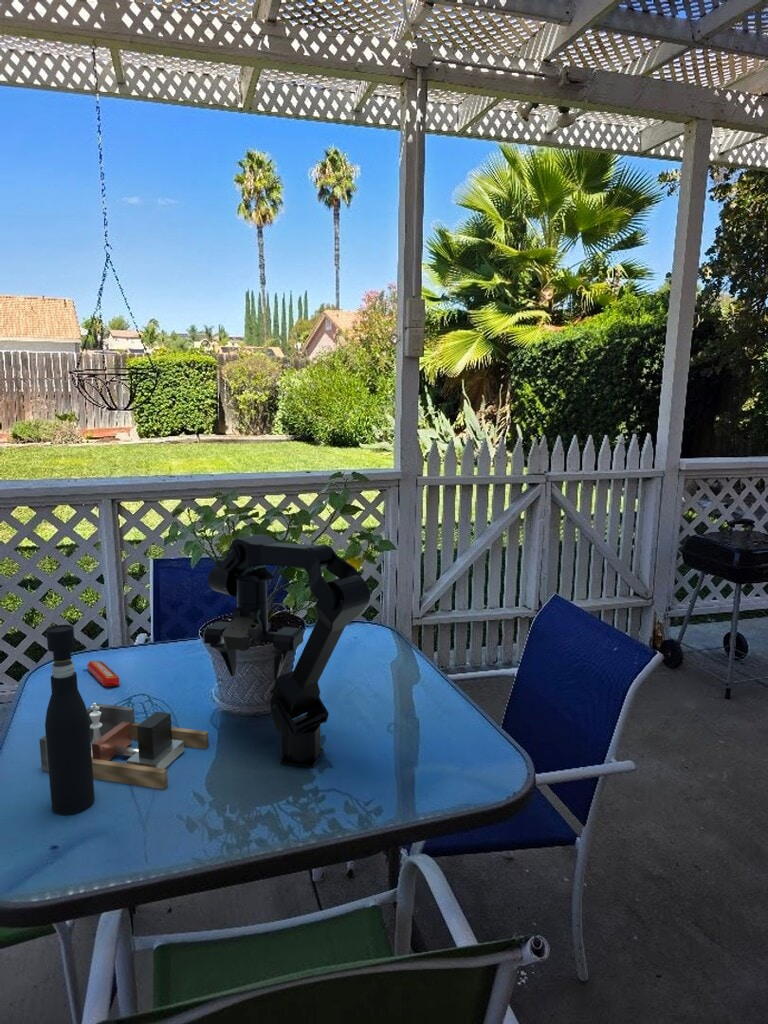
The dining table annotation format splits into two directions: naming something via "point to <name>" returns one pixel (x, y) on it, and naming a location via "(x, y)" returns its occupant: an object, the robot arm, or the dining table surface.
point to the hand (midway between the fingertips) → (254, 677)
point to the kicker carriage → (141, 743)
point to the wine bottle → (67, 731)
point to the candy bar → (103, 673)
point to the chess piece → (95, 723)
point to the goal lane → (119, 714)
